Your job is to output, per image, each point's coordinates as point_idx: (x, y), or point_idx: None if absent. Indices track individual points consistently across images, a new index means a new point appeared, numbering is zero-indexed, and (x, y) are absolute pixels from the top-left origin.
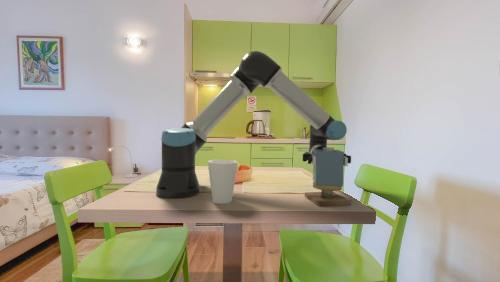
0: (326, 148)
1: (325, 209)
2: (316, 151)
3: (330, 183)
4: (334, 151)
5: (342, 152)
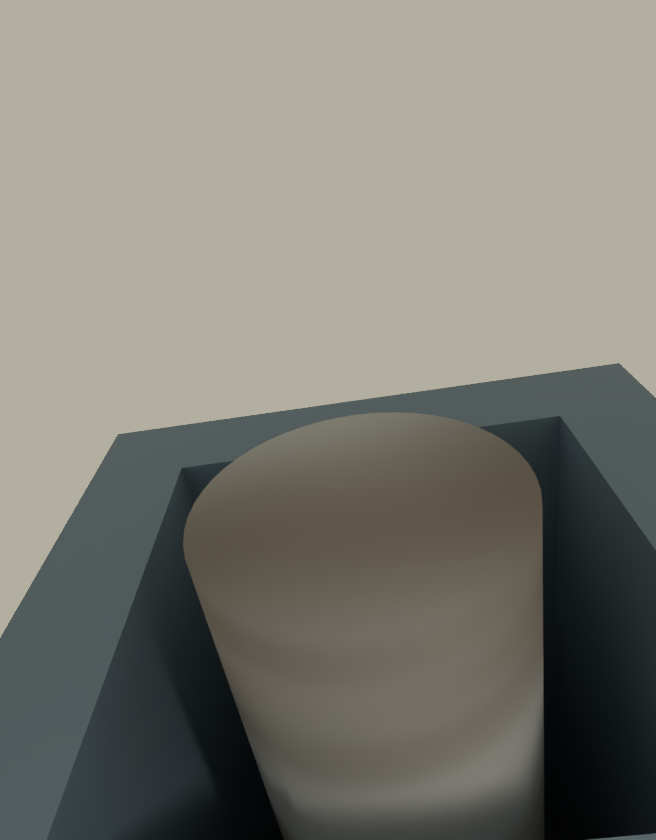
0: (422, 425)
1: None
2: (618, 368)
3: None
4: (270, 433)
5: (143, 443)
